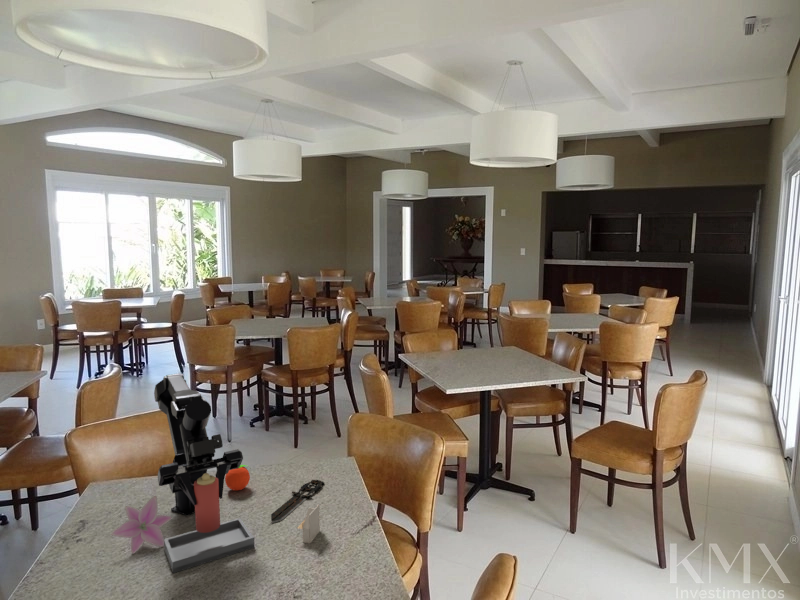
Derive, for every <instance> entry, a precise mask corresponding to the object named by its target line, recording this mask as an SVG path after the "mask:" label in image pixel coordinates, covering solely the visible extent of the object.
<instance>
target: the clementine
mask: <svg viewBox="0 0 800 600" xmlns="http://www.w3.org/2000/svg"><path fill="white" fill-rule="evenodd" d="M247 467H248V468H250V466H249V465H246V464H241V465H240V467H239V468H237V469H232V470H229V472H228V473H227V474H225V478H224V482H225V485H226V486H227V488H228V489H229V490H231V491H234V492H235V491H242V490H243V489H245V488H246V487H247V485H249V483H250V480H251V479H250V478H251V476H250V472H249V470H248V469H247Z"/></svg>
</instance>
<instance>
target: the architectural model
mask: <svg viewBox="0 0 800 600" xmlns="http://www.w3.org/2000/svg"><path fill="white" fill-rule="evenodd" d="M320 513H321V512H320V504H319V503H318V504H317V506H315V507H308V508H307V511H306V516H305V518H304V519H303V520H302V522H301V523H300V524H299V526H297V528H296V529H297V530H299V531H302V543H306V544H310V543H312V542H313V540H314V539H315V538H316V536H318V534H319V533H320V532H321V525H320V523H321V521H320V520H321V519H320V518H321V515H320Z"/></svg>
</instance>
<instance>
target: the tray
mask: <svg viewBox="0 0 800 600" xmlns="http://www.w3.org/2000/svg"><path fill="white" fill-rule="evenodd" d="M254 548H255V537H254V535H253V534H252V532H251V531H250V529H249V528H248V527H247V525H246V524H245V522H244V521H243V519H242V518H241V517H238V518H233V519H230V520H228V521H224V522H220V527H219V528H218V529H216V530H214V531H212V532H207V533H202V532H198V531H197V530H196V529H195V530H192V531H191V530H190V531H187V532H184V533H181V534H177V535H173V536H170V537H166V538H164V546H163V549H164V552H165V555H166V557H167V560H168V564H169V565H170V568H171V571H172V574H175V573H177V572H181V571H184V570H187V569H191V568H193V567H197V566H200V565H203V564H206V563H209V562H213V561H216V560H219V559H222V558H225V557H229V556H232V555H235V554H238V553H242V552H244V551H247V550H251V549H254Z"/></svg>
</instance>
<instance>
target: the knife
mask: <svg viewBox="0 0 800 600" xmlns="http://www.w3.org/2000/svg"><path fill="white" fill-rule="evenodd" d="M315 483H316V484H315ZM322 486H325V482H324V481H322V480H319V479H311V480H310V481H308V482H306V483H304V484H303V485H301V486H300V488H299V489H298V491H297V492H296V491H291V496H292V497H290V498H289V499H288V500H287V501H285V502H284V503H283V504H282V505H281V506H280V507H278V508H277V509H276V510H275V511H273V512H272V513H271V514H270V520H271V522H270V525H271V524H274V523H277V522H280V521H281V522H282V521H283V520H284V519H285V518H286V517H288V516H289V514H291V513H292V512H294V511H295V510H296V509H297V508H298V507H299V506H300V505H301V504H302V503H304V502H305V501H306V500H309V499H313V495H312V494H313V493H314V494H316V493H318V492H320V490H321V487H322ZM309 487H310V488H309ZM303 490H305V491H306V492H307V494H302V495H301V492H302V491H303Z"/></svg>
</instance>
